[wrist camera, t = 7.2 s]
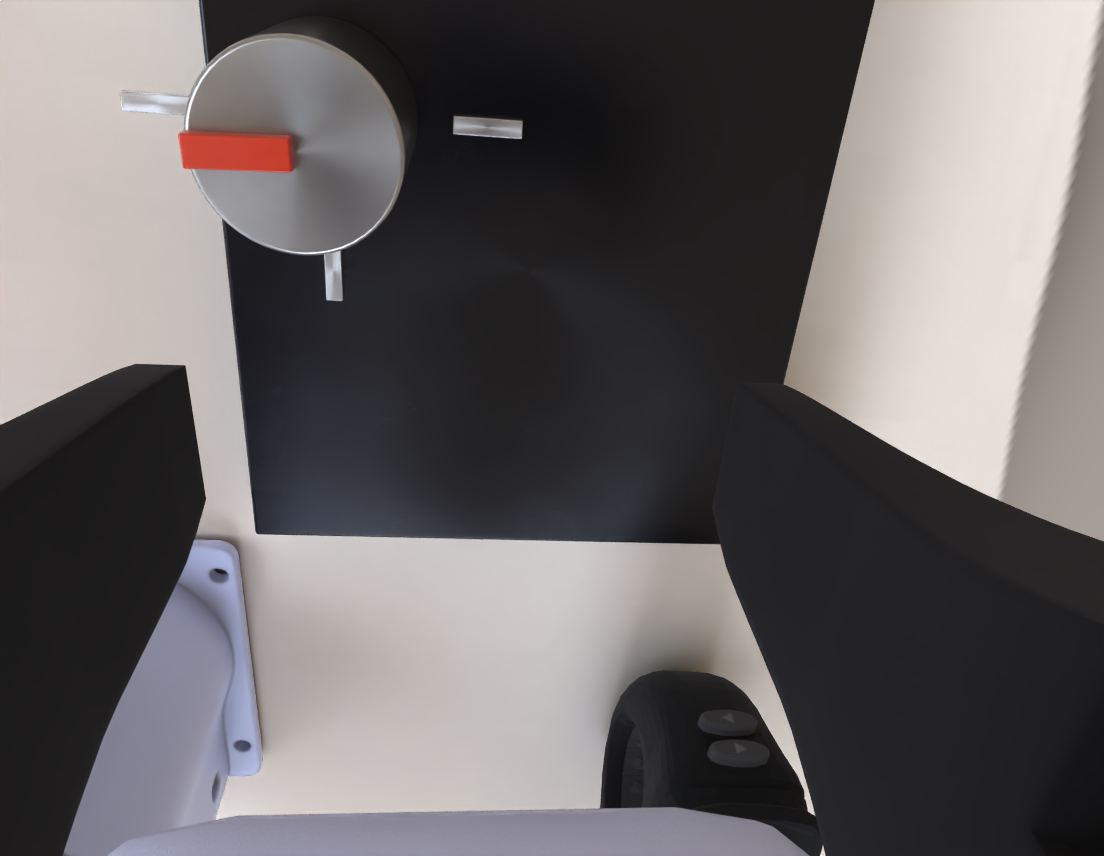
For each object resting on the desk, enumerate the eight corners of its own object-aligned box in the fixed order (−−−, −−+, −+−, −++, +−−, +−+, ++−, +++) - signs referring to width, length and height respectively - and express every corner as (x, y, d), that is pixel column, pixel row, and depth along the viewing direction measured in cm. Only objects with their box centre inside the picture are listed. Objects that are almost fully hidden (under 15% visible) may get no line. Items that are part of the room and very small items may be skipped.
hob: (727, 504, 25) (747, 550, 23) (211, 490, 24) (188, 538, 22) (859, -92, 18) (903, -96, 16) (122, -167, 16) (77, -182, 14)
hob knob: (416, 21, 16) (401, 41, 13) (419, 208, 18) (407, 266, 15) (222, 9, 16) (159, 28, 13) (245, 201, 18) (194, 259, 15)
